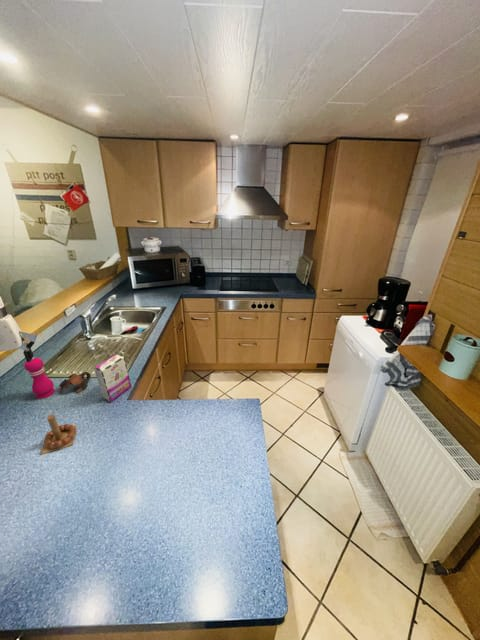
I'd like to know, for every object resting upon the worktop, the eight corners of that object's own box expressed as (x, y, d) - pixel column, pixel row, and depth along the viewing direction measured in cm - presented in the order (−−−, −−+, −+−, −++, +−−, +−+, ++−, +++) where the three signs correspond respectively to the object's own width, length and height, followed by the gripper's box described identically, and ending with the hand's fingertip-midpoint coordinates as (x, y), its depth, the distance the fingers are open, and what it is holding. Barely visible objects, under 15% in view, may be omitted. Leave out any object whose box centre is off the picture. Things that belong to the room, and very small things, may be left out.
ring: (42, 453, 81) (40, 449, 80) (48, 432, 88) (46, 428, 88) (75, 443, 84) (73, 439, 83) (78, 423, 92) (76, 419, 91)
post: (41, 456, 81) (29, 431, 77) (48, 435, 89) (37, 411, 84) (73, 447, 85) (64, 422, 80) (77, 427, 92) (68, 403, 87)
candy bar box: (123, 383, 115) (116, 353, 108) (131, 387, 113) (125, 356, 106) (102, 399, 105) (93, 367, 98) (110, 403, 103) (101, 370, 97)
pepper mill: (35, 403, 103) (18, 363, 94) (36, 393, 108) (19, 354, 99) (57, 396, 107) (41, 357, 98) (56, 387, 112) (41, 349, 103)
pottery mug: (74, 400, 105) (59, 386, 102) (68, 399, 112) (54, 386, 109) (98, 379, 113) (85, 366, 110) (92, 379, 119) (79, 366, 117)
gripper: (-58, 324, 67) (-30, 376, 74) (22, 314, 73) (41, 363, 80) (-43, 314, 73) (-18, 362, 80) (29, 306, 79) (46, 351, 86)
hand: (11, 363), depth 80 cm, fingers open, 9 cm apart
